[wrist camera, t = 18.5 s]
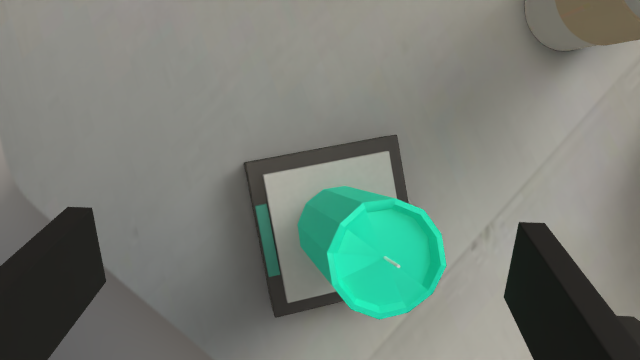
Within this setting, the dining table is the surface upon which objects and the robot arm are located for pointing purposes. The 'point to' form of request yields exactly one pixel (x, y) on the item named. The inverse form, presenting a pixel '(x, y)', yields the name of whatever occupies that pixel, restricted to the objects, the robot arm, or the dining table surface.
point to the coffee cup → (583, 22)
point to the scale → (289, 201)
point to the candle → (372, 249)
